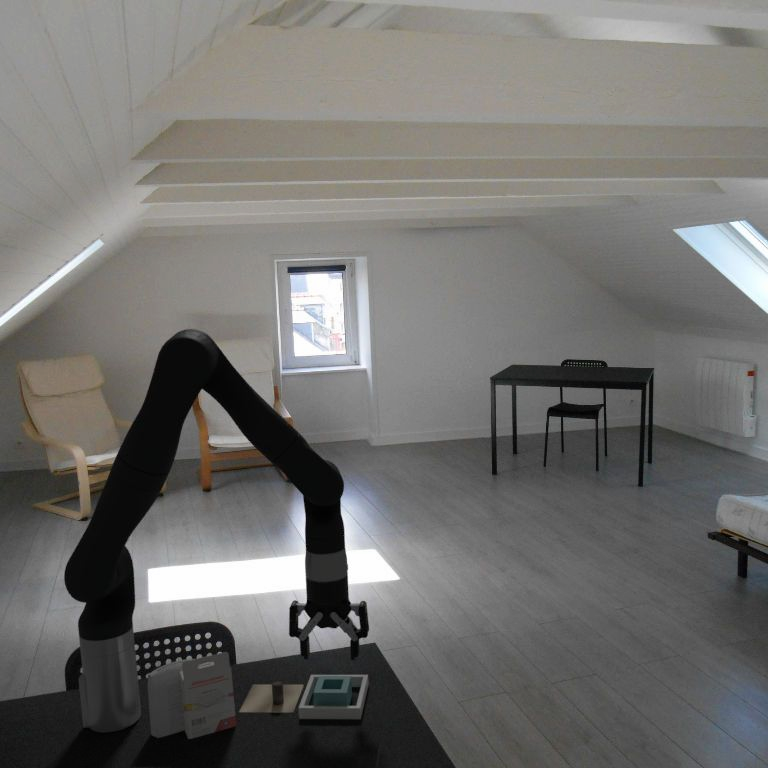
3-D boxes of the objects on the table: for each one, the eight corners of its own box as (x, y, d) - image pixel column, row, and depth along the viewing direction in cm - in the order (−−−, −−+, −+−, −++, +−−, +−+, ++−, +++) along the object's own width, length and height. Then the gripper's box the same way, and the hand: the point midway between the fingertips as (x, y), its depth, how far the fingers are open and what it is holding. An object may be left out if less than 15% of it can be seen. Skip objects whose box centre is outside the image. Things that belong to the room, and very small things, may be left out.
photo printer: (205, 714, 146) (200, 650, 144) (213, 725, 142) (207, 659, 141) (148, 732, 141) (142, 666, 139) (155, 744, 137) (148, 676, 136)
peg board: (239, 717, 145) (237, 693, 144) (253, 689, 155) (251, 667, 154) (293, 717, 144) (291, 694, 143) (304, 689, 154) (302, 667, 153)
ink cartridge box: (230, 718, 145) (224, 640, 143) (237, 731, 140) (231, 651, 138) (182, 731, 141) (175, 651, 139) (188, 745, 137) (181, 663, 135)
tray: (299, 723, 142) (298, 708, 141) (311, 689, 153) (311, 674, 153) (361, 724, 140) (360, 708, 140) (368, 689, 152) (368, 674, 152)
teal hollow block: (314, 713, 143) (313, 692, 143) (322, 690, 151) (320, 670, 151) (347, 713, 143) (346, 692, 142) (353, 691, 151) (352, 670, 150)
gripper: (282, 580, 140) (287, 667, 142) (363, 580, 139) (367, 668, 141) (291, 564, 147) (295, 648, 149) (368, 564, 146) (371, 648, 148)
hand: (330, 658), depth 145 cm, fingers open, 8 cm apart
